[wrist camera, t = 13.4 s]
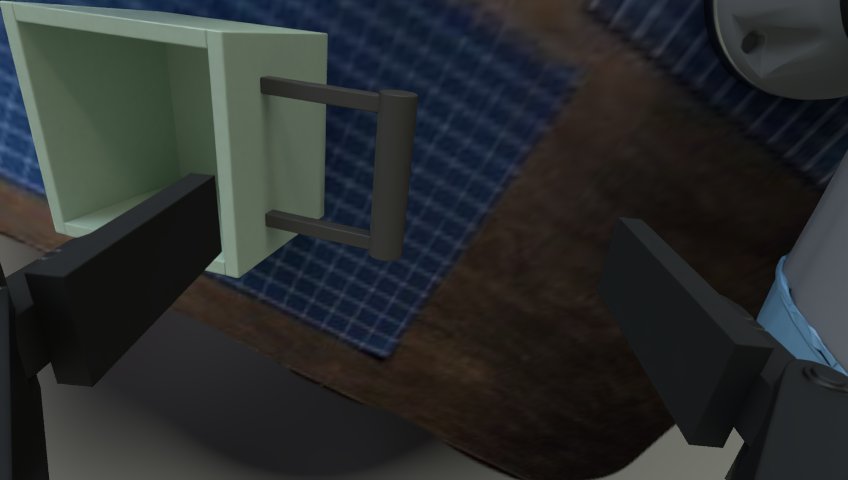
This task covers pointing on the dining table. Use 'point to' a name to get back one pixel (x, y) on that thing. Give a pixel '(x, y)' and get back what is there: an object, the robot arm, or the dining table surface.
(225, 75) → the pale green square box
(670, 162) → the dining table surface
